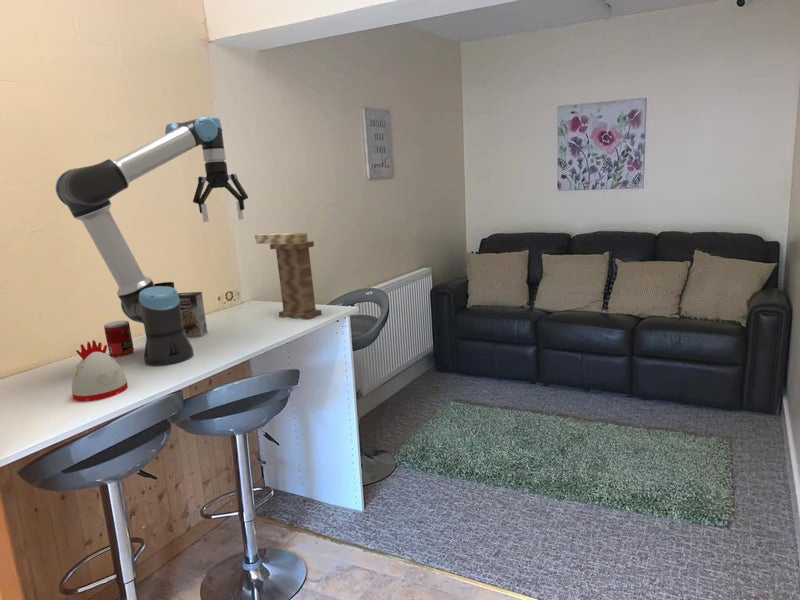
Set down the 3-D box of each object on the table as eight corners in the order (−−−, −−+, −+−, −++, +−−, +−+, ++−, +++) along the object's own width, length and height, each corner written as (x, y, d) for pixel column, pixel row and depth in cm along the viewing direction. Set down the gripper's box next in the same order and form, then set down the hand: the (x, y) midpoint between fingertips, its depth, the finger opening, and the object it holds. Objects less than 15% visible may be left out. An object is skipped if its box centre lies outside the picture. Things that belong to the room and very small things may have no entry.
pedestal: (279, 317, 240) (269, 244, 233) (292, 312, 246) (283, 241, 240) (308, 319, 231) (299, 244, 225) (321, 314, 238) (313, 241, 231)
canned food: (128, 356, 199) (122, 325, 197) (105, 357, 199) (99, 326, 197) (138, 349, 207) (132, 319, 204) (116, 351, 207) (110, 321, 205)
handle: (253, 244, 239) (252, 235, 239) (264, 242, 244) (263, 233, 244) (297, 243, 227) (296, 234, 226) (307, 241, 232) (307, 232, 231)
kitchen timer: (64, 396, 163) (53, 345, 160) (111, 380, 174) (101, 332, 171) (89, 404, 155) (78, 350, 152) (137, 387, 166) (128, 336, 163)
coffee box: (178, 338, 218) (171, 296, 215) (185, 333, 225) (178, 292, 221) (201, 336, 218) (195, 294, 214) (208, 332, 224) (202, 290, 221)
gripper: (252, 158, 212) (259, 217, 217) (187, 164, 216) (196, 222, 220) (244, 158, 205) (252, 219, 210) (177, 164, 209) (186, 223, 213)
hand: (223, 220), depth 215 cm, fingers open, 13 cm apart
